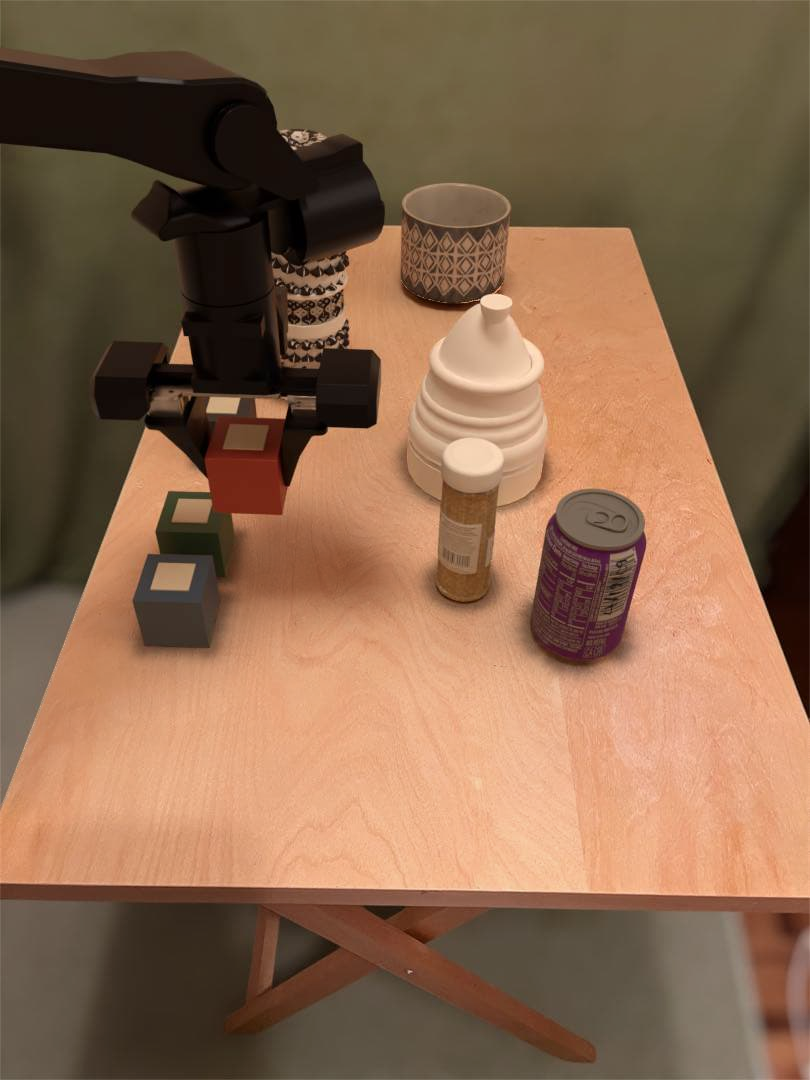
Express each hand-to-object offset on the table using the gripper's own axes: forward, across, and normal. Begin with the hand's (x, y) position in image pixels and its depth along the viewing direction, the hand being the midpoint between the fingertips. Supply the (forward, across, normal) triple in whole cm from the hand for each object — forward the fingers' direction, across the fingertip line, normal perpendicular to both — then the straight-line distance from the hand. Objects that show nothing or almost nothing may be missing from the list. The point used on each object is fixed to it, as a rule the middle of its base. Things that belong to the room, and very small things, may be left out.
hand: (252, 481), depth 67 cm
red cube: (+1, 0, 0) cm, 1 cm away
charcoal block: (+11, +6, -18) cm, 22 cm away
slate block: (+11, +6, +4) cm, 13 cm away
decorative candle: (+11, 0, -30) cm, 32 cm away
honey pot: (+11, -17, -17) cm, 27 cm away
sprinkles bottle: (+11, -16, -1) cm, 20 cm away
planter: (+11, -15, -53) cm, 56 cm away
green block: (+11, +6, -3) cm, 13 cm away
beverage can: (+11, -25, +4) cm, 28 cm away
